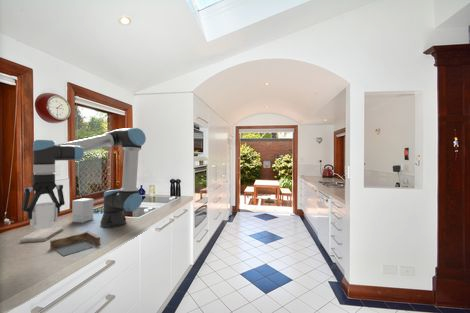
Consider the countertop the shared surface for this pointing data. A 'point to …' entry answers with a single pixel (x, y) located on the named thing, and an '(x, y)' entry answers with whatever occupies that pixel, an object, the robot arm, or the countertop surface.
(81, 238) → the corner walls
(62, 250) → the mat
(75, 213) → the supplement box
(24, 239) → the washcloth
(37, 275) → the countertop surface
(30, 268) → the countertop surface
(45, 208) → the white cup
